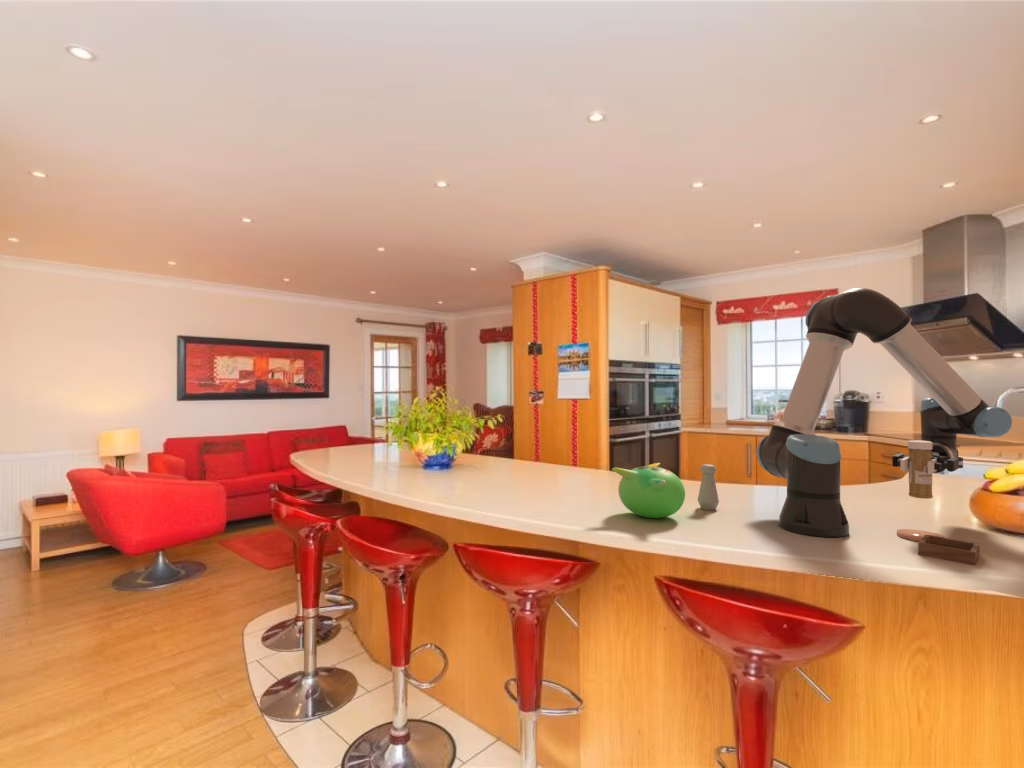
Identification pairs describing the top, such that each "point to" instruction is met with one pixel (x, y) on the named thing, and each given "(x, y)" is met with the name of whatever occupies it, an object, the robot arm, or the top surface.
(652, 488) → the green cartoon creature figurine
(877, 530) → the top surface
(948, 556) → the walnut collar
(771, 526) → the top surface
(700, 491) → the salt shaker
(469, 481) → the top surface
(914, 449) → the sprinkles bottle
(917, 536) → the terracotta coaster
